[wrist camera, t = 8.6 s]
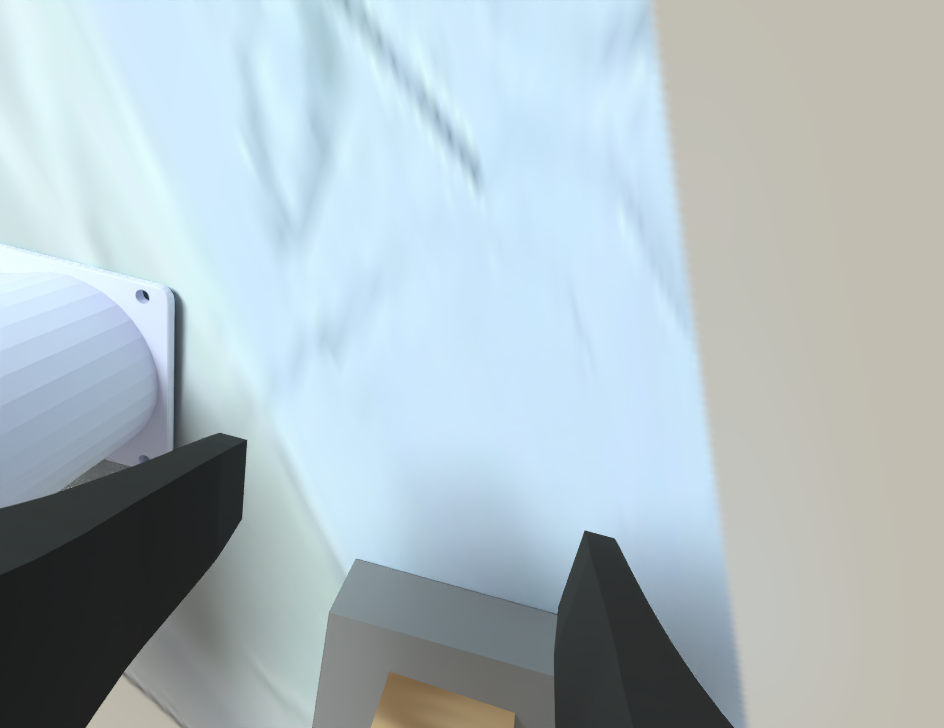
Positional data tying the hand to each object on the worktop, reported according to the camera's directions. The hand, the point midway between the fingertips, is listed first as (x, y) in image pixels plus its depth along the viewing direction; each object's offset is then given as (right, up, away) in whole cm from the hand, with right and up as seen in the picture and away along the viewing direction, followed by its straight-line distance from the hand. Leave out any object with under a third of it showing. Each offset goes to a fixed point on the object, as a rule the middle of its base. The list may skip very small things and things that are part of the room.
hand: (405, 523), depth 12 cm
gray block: (0, -11, +14) cm, 18 cm away
